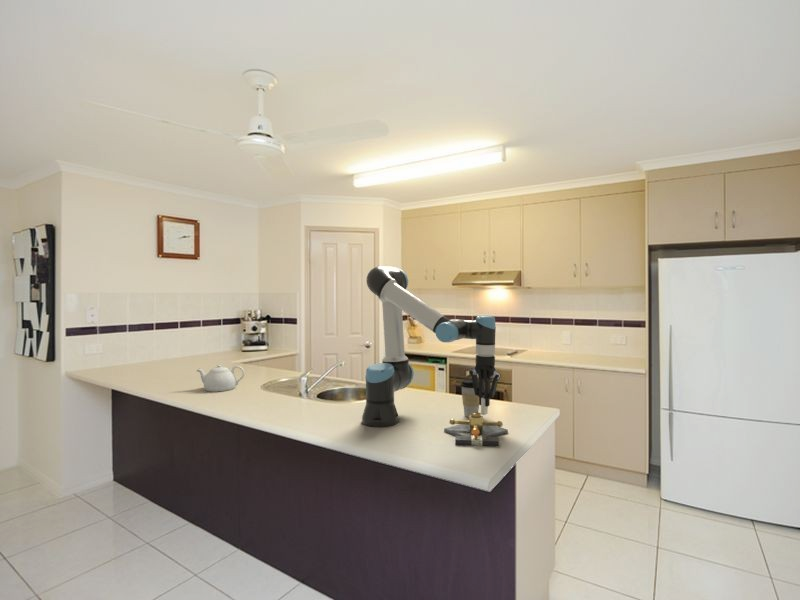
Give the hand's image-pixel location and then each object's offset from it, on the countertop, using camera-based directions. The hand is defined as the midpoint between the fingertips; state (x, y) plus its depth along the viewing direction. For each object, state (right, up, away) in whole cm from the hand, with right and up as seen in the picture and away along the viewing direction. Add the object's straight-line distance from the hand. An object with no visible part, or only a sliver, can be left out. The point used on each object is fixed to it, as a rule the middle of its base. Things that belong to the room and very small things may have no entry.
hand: (484, 413), depth 177 cm
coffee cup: (-3, -5, +16) cm, 17 cm away
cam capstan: (-5, -4, -10) cm, 12 cm away
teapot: (-134, -5, +73) cm, 152 cm away
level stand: (-5, -5, -12) cm, 14 cm away
